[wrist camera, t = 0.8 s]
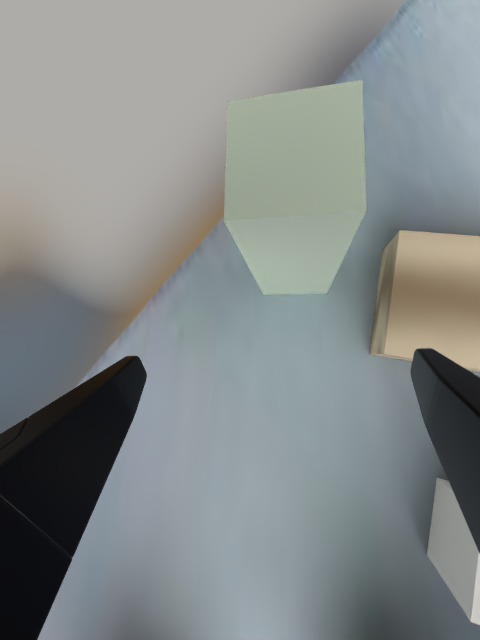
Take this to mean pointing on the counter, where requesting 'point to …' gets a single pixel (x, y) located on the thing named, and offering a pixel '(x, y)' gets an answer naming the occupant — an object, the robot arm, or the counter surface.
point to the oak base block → (429, 297)
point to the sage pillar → (296, 184)
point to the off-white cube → (455, 551)
